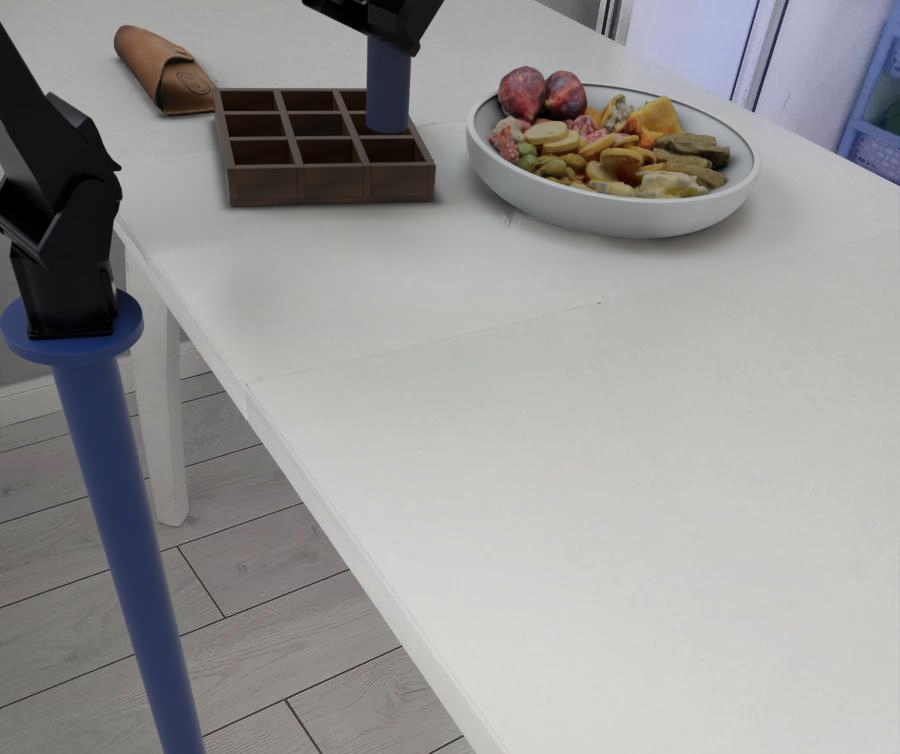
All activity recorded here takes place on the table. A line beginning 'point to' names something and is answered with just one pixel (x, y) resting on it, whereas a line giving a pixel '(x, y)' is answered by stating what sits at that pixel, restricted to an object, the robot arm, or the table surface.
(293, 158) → the grid
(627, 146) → the bowl
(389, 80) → the navy round peg
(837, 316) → the table surface
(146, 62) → the sunglasses case
